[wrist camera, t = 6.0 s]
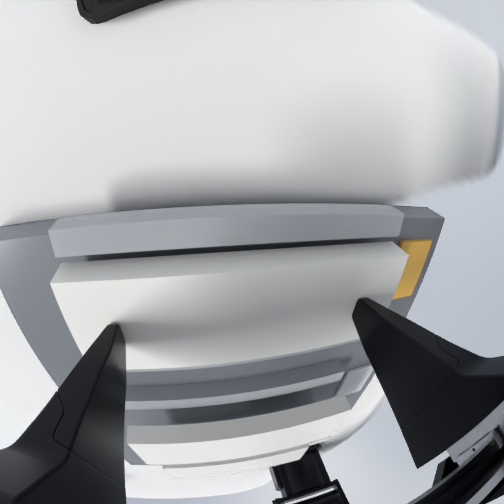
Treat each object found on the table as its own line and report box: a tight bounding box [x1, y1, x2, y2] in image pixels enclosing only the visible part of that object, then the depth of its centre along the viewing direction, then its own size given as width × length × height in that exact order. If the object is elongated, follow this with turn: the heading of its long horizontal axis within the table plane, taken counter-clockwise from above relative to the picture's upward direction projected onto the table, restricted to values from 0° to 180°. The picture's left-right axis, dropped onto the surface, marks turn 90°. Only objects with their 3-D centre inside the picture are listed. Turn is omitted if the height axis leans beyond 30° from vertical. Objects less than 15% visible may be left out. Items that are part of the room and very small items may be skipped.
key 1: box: [163, 443, 309, 478], centre depth 20 cm, size 13×4×1 cm, turn 87°
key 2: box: [50, 241, 409, 370], centre depth 10 cm, size 13×4×1 cm, turn 86°
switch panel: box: [0, 203, 444, 465], centre depth 16 cm, size 22×27×2 cm
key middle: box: [127, 394, 352, 465], centre depth 14 cm, size 13×4×1 cm, turn 87°
